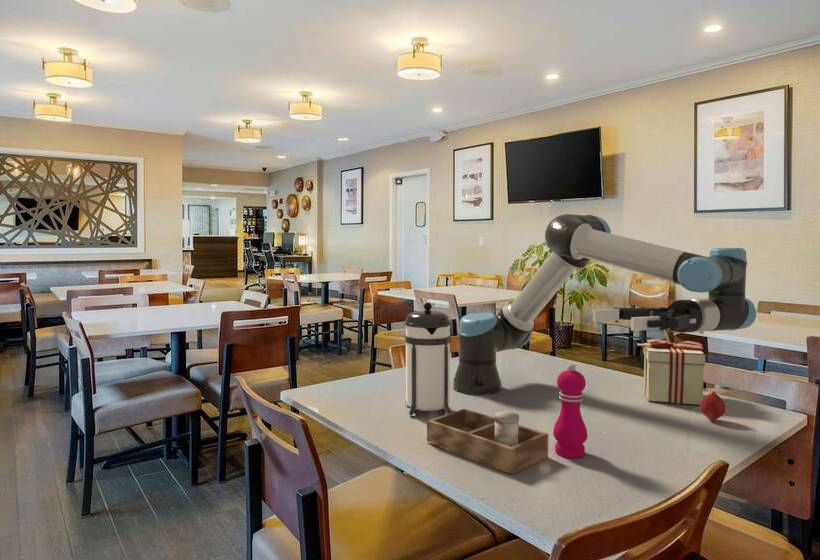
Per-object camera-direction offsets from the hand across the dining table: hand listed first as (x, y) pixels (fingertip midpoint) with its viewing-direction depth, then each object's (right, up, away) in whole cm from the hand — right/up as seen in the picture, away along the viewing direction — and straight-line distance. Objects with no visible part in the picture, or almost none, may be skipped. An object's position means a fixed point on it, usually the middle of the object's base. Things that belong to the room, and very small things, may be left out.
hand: (611, 319), depth 120 cm
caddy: (-28, -29, +2) cm, 40 cm away
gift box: (+33, -26, +44) cm, 61 cm away
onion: (+34, -28, +21) cm, 49 cm away
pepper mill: (-9, -30, 0) cm, 31 cm away
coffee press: (-40, -27, +31) cm, 58 cm away
